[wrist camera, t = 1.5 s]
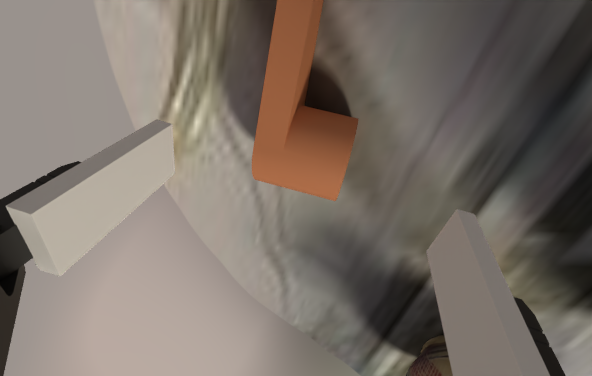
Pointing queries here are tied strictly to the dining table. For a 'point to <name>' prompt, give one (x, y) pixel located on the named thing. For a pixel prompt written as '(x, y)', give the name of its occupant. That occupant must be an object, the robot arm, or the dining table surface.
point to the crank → (298, 112)
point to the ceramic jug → (432, 359)
